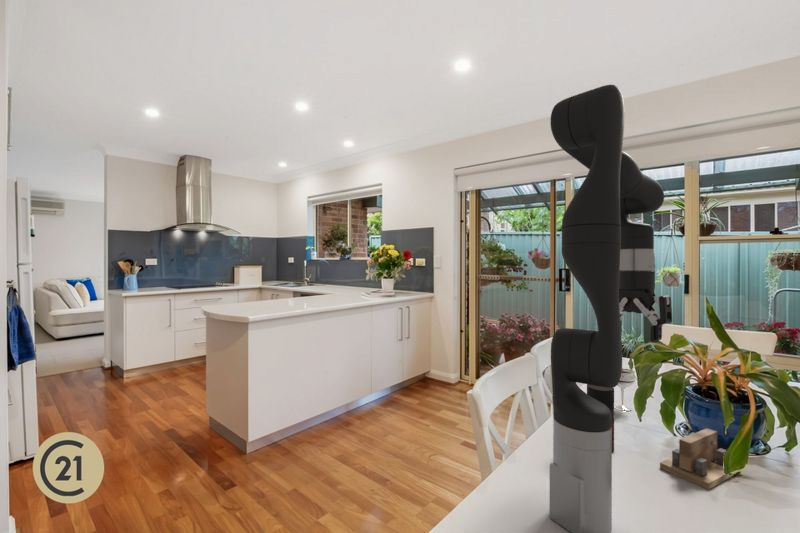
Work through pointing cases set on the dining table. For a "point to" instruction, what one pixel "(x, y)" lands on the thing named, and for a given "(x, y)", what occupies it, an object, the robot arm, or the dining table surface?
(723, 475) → the wooden base with pegs
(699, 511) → the dining table surface
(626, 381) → the wineglass
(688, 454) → the brown block
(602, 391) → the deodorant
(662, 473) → the dining table surface
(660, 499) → the dining table surface
